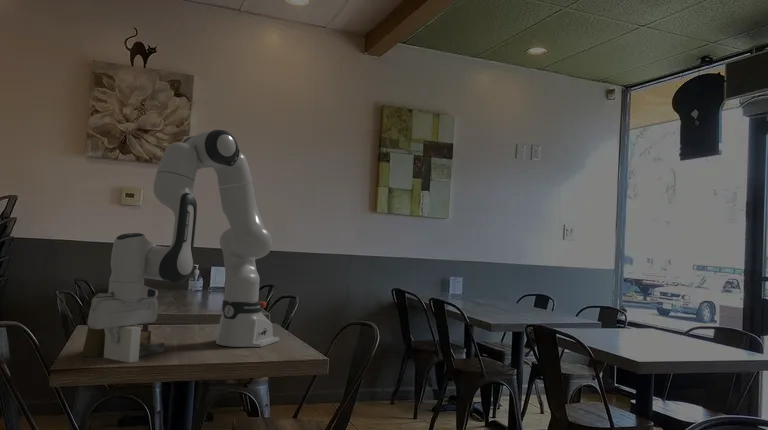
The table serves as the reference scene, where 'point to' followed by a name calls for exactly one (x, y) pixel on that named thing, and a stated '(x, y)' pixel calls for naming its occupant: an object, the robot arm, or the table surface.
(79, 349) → the table surface
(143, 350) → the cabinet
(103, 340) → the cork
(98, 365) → the table surface
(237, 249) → the robot arm
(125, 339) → the white rectangular block
